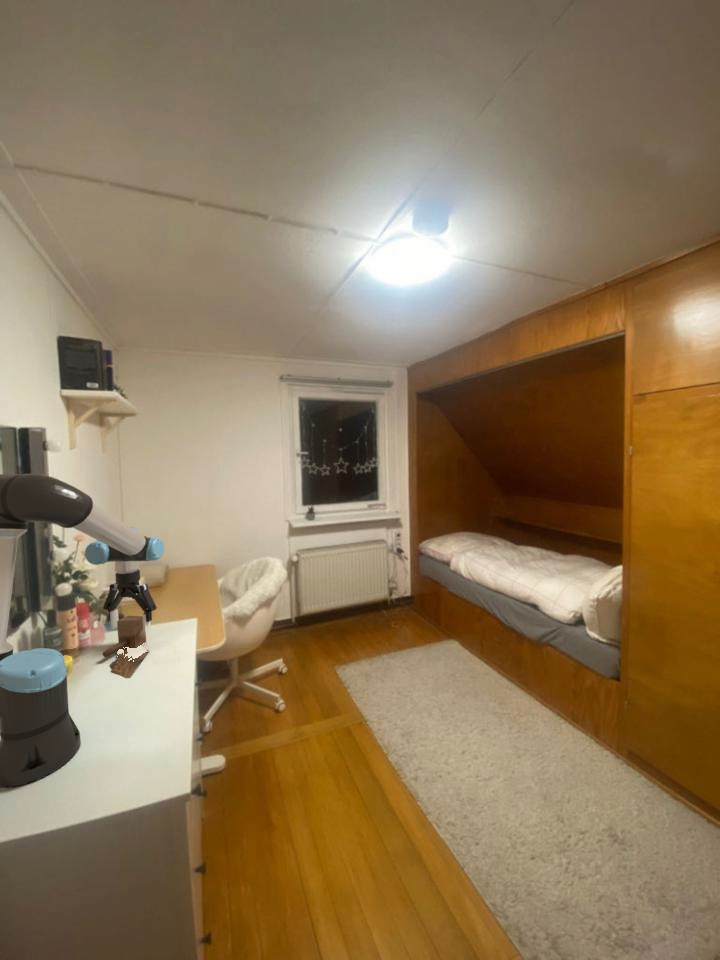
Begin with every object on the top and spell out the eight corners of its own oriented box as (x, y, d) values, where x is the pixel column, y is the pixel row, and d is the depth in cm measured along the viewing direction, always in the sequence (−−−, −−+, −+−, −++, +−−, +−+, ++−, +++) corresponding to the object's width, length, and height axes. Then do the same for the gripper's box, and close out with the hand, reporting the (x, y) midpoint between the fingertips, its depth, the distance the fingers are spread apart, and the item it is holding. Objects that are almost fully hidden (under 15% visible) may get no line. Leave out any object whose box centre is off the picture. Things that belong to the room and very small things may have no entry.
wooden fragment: (117, 647, 139) (117, 644, 139) (152, 640, 143) (152, 638, 143) (103, 685, 115) (102, 681, 115) (144, 675, 119) (144, 672, 119)
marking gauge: (114, 663, 127) (112, 633, 126) (96, 661, 128) (94, 632, 128) (146, 643, 141) (144, 616, 140) (130, 642, 142) (128, 615, 141)
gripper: (165, 568, 138) (168, 626, 139) (107, 567, 144) (110, 623, 144) (150, 574, 131) (153, 635, 132) (89, 572, 136) (92, 631, 137)
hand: (130, 629), depth 138 cm, fingers open, 13 cm apart
